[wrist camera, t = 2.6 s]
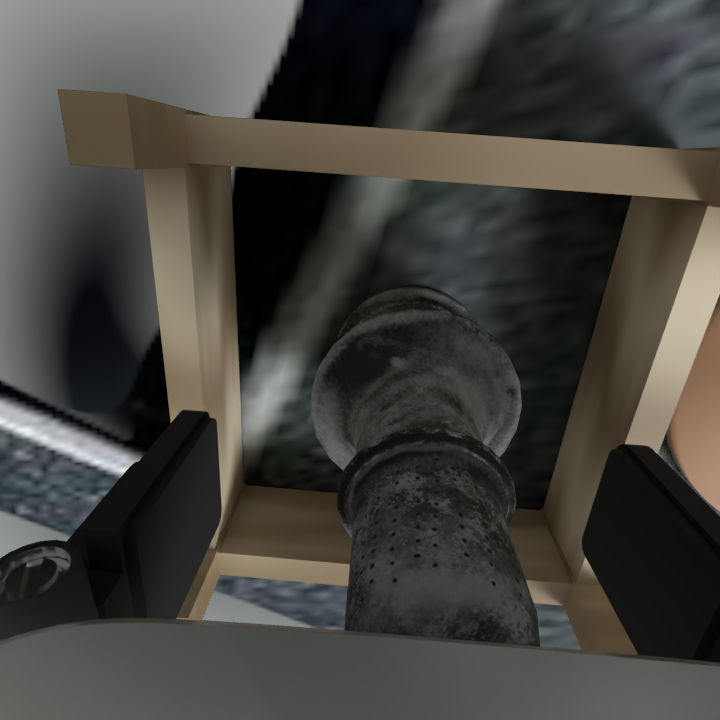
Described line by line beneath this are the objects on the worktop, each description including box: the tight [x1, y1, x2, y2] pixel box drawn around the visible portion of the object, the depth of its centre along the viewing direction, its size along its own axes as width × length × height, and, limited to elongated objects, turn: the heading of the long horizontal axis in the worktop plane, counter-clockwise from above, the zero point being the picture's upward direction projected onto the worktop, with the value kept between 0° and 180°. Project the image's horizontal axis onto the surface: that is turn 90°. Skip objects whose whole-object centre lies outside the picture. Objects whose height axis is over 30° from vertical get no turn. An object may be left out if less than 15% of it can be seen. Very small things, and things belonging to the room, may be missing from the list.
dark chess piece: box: [311, 287, 540, 646], centre depth 11 cm, size 6×6×12 cm
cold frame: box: [58, 89, 720, 655], centre depth 13 cm, size 14×14×6 cm
